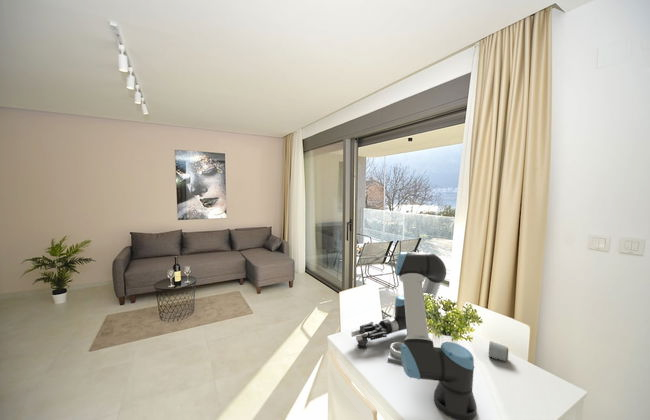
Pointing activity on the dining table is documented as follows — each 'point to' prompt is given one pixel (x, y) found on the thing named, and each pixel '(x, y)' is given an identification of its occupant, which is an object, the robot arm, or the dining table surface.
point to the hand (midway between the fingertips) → (354, 336)
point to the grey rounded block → (498, 351)
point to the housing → (395, 353)
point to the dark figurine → (362, 342)
